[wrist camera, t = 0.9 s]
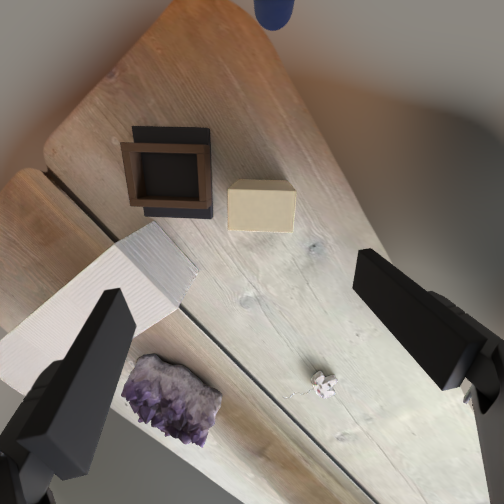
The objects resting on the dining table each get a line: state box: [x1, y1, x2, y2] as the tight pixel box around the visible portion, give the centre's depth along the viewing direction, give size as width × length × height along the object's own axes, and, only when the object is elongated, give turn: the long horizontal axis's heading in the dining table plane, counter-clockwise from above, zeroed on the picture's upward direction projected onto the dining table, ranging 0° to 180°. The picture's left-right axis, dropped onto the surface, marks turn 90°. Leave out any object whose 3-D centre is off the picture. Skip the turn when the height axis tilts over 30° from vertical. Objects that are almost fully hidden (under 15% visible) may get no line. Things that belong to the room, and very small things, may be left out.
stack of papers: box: [0, 221, 199, 396], centre depth 38 cm, size 32×11×11 cm, turn 127°
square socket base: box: [120, 126, 213, 219], centre depth 33 cm, size 12×10×4 cm
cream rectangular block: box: [227, 179, 297, 233], centre depth 30 cm, size 4×7×11 cm, turn 89°
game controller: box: [284, 371, 338, 399], centre depth 48 cm, size 6×12×3 cm, turn 141°
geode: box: [121, 354, 222, 447], centre depth 46 cm, size 20×12×10 cm, turn 49°
